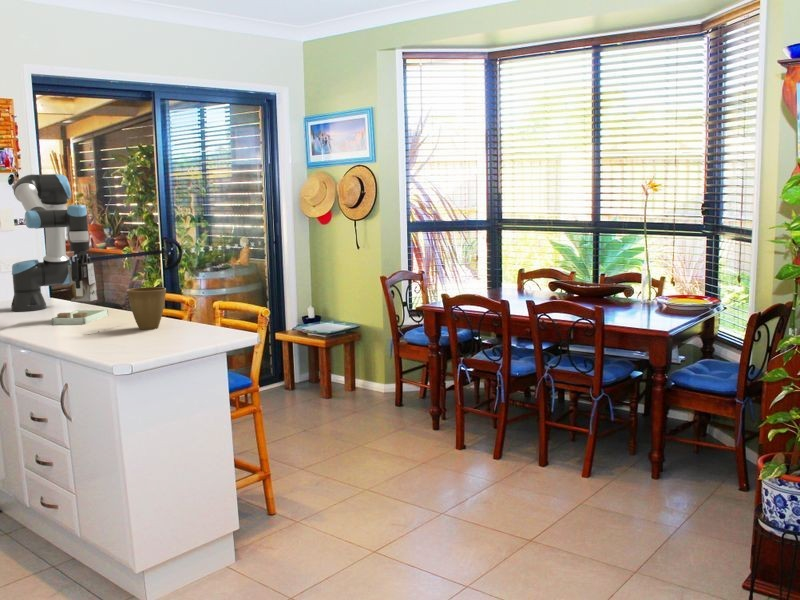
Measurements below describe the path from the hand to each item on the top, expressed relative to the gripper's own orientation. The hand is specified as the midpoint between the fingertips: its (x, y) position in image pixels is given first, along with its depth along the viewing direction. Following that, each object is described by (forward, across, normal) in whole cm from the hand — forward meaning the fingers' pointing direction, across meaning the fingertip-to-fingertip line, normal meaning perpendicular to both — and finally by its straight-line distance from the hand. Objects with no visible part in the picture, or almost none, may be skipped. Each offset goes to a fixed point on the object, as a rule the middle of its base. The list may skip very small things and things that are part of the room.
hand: (83, 294), depth 326 cm
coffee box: (+3, 0, 0) cm, 3 cm away
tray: (+11, +4, 0) cm, 12 cm away
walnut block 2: (+10, +11, +3) cm, 16 cm away
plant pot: (+12, +20, +36) cm, 43 cm away
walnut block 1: (+10, +11, -4) cm, 16 cm away
